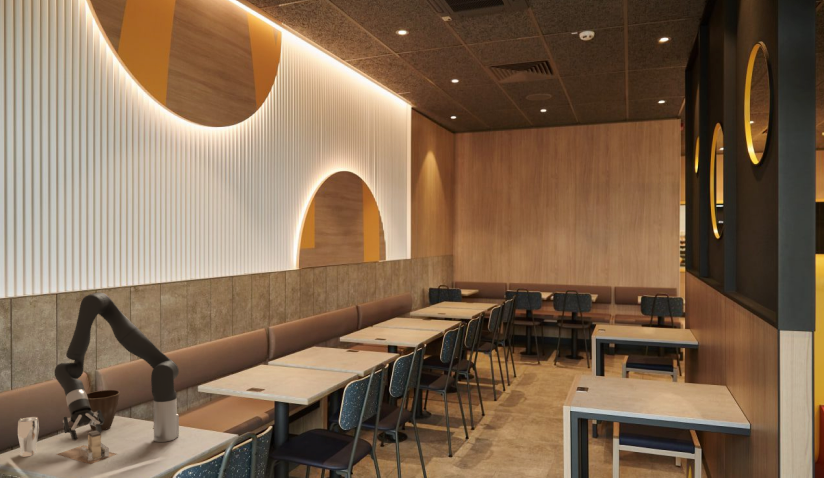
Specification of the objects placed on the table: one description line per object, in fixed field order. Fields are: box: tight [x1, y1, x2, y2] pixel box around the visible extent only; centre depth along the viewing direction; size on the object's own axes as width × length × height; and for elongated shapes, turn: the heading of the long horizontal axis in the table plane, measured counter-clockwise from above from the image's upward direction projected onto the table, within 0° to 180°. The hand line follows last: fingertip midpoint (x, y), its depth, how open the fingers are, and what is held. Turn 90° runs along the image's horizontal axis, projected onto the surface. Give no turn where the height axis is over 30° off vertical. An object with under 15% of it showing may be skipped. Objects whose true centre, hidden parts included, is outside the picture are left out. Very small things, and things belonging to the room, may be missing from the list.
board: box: [56, 444, 117, 465], centre depth 220 cm, size 11×22×1 cm, turn 63°
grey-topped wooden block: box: [87, 431, 102, 458], centre depth 217 cm, size 5×3×9 cm, turn 48°
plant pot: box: [86, 389, 121, 432], centre depth 253 cm, size 15×15×16 cm
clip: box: [80, 442, 110, 462], centre depth 217 cm, size 9×7×3 cm
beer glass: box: [17, 416, 40, 458], centre depth 221 cm, size 7×7×15 cm
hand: (87, 436), depth 222 cm, fingers open, 8 cm apart
